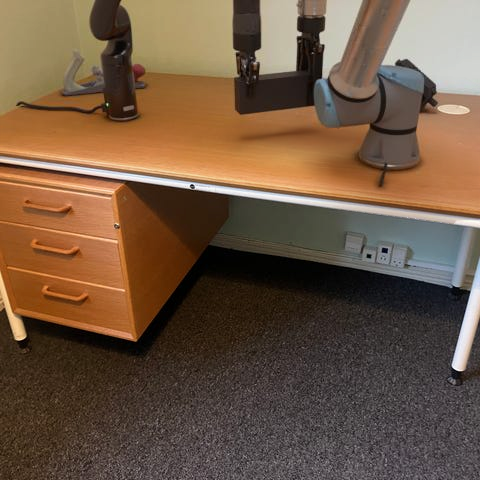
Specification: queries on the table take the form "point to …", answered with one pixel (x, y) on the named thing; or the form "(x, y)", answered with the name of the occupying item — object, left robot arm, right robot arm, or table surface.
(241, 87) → the bar
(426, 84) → the tool
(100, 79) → the hand plane
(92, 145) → the table surface
